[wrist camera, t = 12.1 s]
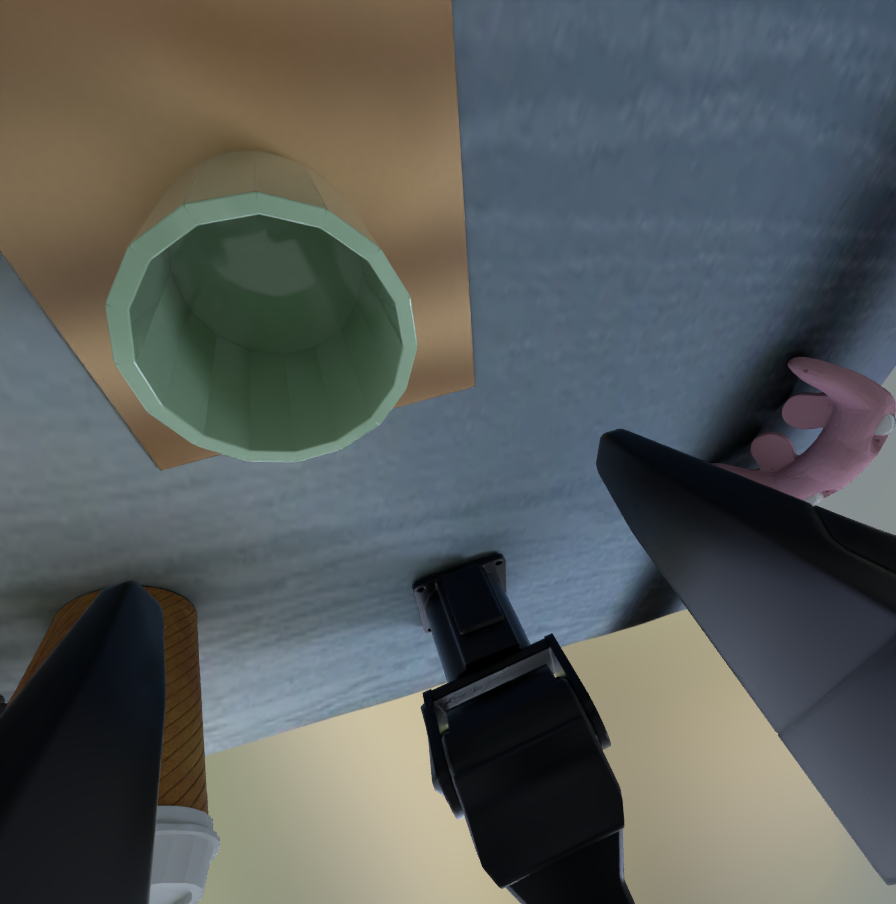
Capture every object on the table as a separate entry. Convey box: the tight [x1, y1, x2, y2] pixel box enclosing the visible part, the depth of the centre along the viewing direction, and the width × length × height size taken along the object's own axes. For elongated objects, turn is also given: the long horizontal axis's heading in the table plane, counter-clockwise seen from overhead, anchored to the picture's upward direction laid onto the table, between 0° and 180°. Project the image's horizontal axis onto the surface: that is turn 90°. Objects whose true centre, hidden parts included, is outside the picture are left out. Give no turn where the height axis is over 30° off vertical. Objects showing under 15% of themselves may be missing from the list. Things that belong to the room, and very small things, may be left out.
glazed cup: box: [105, 150, 418, 462], centre depth 13 cm, size 7×7×6 cm
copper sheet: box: [0, 0, 475, 470], centre depth 15 cm, size 14×14×1 cm
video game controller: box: [712, 357, 896, 506], centre depth 29 cm, size 10×5×7 cm, turn 163°
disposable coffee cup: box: [5, 587, 220, 904], centre depth 19 cm, size 10×10×12 cm
